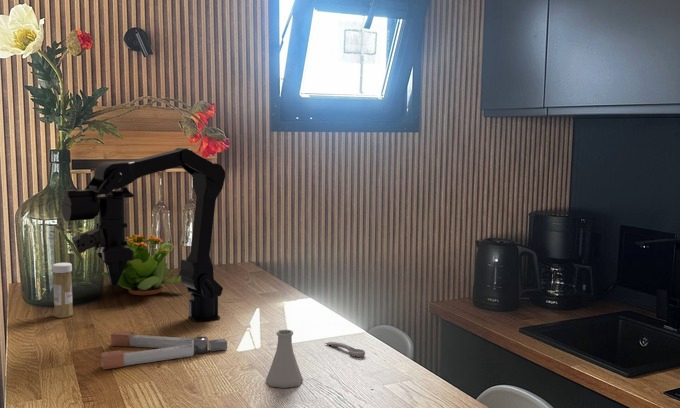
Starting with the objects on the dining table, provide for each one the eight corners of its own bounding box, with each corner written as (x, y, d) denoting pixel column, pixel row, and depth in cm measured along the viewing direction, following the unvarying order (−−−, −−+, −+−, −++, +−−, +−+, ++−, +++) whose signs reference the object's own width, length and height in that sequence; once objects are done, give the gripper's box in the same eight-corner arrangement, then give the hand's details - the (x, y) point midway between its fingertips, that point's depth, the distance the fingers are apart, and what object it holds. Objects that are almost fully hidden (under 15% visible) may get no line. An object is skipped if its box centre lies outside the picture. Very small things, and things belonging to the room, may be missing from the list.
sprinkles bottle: (74, 316, 169) (73, 264, 167) (55, 319, 166) (54, 266, 165) (71, 312, 172) (69, 261, 171) (52, 314, 170) (50, 263, 168)
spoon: (358, 360, 142) (358, 351, 142) (322, 349, 151) (322, 341, 151) (368, 357, 144) (368, 348, 144) (332, 347, 153) (332, 338, 152)
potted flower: (202, 285, 204) (202, 229, 202) (170, 305, 181) (169, 242, 179) (126, 280, 208) (125, 225, 206) (85, 299, 185) (83, 237, 183)
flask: (266, 375, 132) (266, 326, 131) (302, 374, 132) (303, 326, 131) (265, 389, 125) (265, 338, 124) (303, 389, 125) (304, 337, 124)
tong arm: (211, 347, 147) (211, 335, 146) (205, 354, 143) (205, 341, 142) (116, 341, 149) (116, 329, 149) (108, 347, 145) (107, 335, 145)
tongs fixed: (224, 346, 148) (224, 335, 147) (229, 351, 144) (229, 339, 144) (100, 363, 136) (100, 351, 135) (103, 369, 132) (102, 356, 132)
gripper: (69, 214, 155) (71, 279, 157) (78, 225, 139) (80, 298, 141) (119, 212, 160) (120, 275, 162) (133, 222, 144) (134, 293, 146)
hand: (113, 285), depth 153 cm, fingers closed
